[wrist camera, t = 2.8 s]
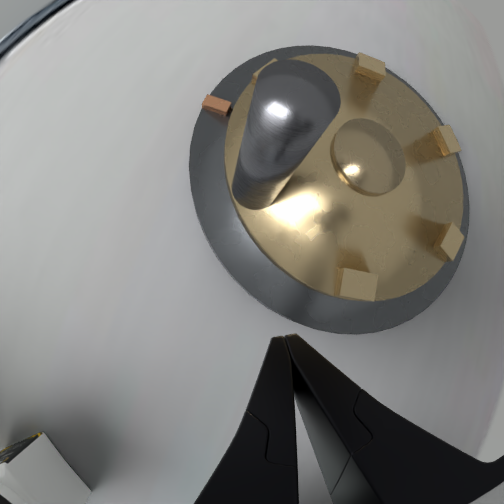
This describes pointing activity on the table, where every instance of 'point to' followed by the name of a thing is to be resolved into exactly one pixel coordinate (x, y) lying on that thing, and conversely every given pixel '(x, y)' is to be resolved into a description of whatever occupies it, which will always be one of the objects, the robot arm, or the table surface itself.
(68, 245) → the table surface
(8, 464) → the medicine bottle
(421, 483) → the robot arm
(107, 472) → the table surface
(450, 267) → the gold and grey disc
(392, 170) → the gold wheel with handle
